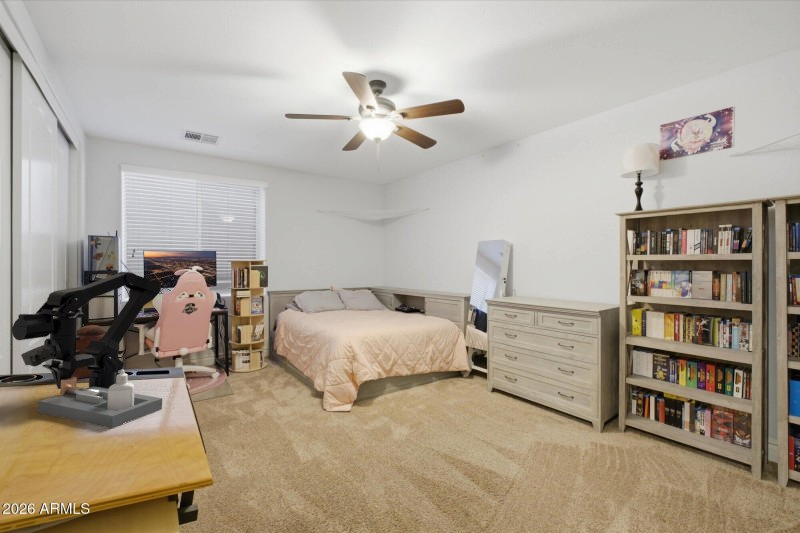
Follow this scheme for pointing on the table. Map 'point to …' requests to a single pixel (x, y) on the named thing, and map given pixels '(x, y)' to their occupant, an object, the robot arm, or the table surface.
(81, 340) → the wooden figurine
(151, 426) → the table surface
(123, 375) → the eye dropper bottle
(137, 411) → the dock block
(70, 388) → the lock pin
